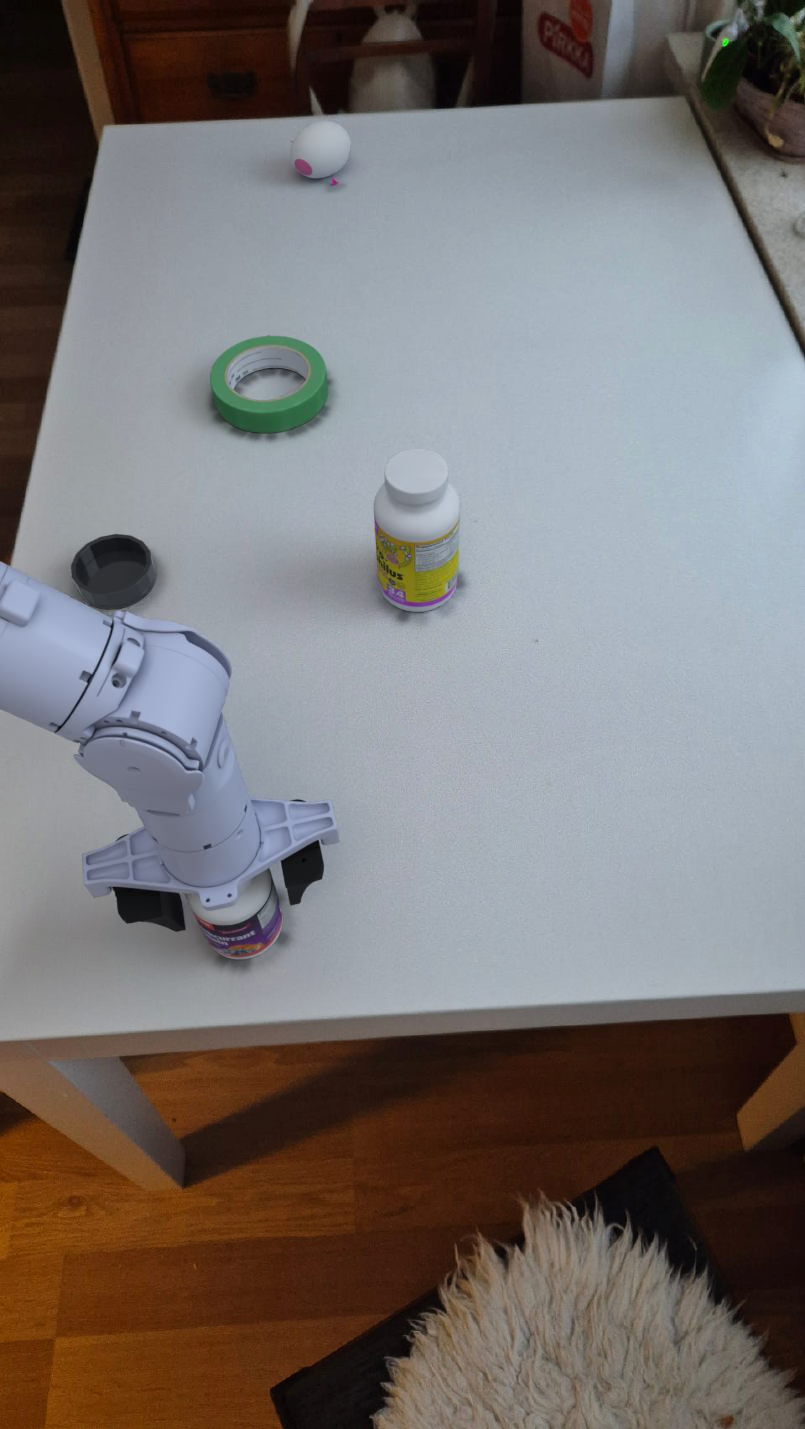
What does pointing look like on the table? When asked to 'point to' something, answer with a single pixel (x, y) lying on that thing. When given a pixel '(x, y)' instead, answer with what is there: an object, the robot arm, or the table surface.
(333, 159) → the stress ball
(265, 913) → the pill bottle
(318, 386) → the tape roll
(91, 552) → the round open container
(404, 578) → the supplement bottle
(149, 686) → the robot arm
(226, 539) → the table surface
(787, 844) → the table surface
